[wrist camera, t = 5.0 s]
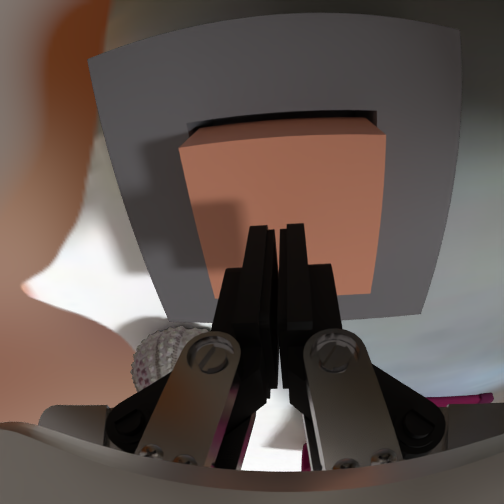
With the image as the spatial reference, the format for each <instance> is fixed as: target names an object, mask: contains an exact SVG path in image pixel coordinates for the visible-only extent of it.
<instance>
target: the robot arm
mask: <svg viewBox="0 0 504 504" xmlns="http://www.w3.org/2000/svg"><path fill="white" fill-rule="evenodd" d="M279 349H280V360H281V372H282V383H283V389H288V388H289V399H290V404H292V405H293V406H294V407H295V408H296V409H298V410H299V411H300V412H301V413H302V418H303V424H304V430H305V436H306V442H307V448H308V454H309V460H310V466H311V471H301V472H267V471H244V470H241V467H242V464H243V460H244V457H245V453H246V450H247V446H248V443H249V439H250V436H251V432H252V428H253V425H254V421H255V417H256V411H257V410H258V409H259V408H261V407H262V406H263V405H264V404H266V400H267V399H270V390H271V389H277V386H278V365H279ZM0 504H504V403H485V404H448V405H447V406H446V407H438V406H437V405H435V404H434V403H433V402H432V401H430V400H428V399H427V398H425V397H424V396H422V395H420V394H419V393H417V392H416V391H414V390H412V389H411V388H409V387H408V386H406V385H404V384H403V383H401V382H400V381H398V380H397V379H395V378H393V377H392V376H390V375H389V374H387V373H386V372H384V371H383V370H381V369H379V368H378V367H376V366H375V365H373V364H372V363H371V360H370V358H369V355H368V352H367V350H366V347H365V345H364V343H363V342H362V340H361V339H360V338H359V337H358V336H357V335H355V334H354V333H352V332H350V331H347V330H344V329H342V323H341V317H340V310H339V304H338V298H337V292H336V287H335V281H334V275H333V270H332V265H331V263H328V264H308V258H307V248H306V238H305V228H304V223H295V224H287V229H280V243H279V271H278V260H277V249H276V238H275V230H274V229H268V225H258V226H250V227H249V232H248V238H247V243H246V249H245V254H244V260H243V266H242V267H238V268H227V269H226V270H225V273H224V277H223V282H222V286H221V290H220V294H219V298H218V302H217V306H216V311H215V315H214V319H213V323H212V328H211V331H210V332H206V333H201V334H199V335H197V336H195V337H193V338H192V339H191V340H190V341H189V342H187V344H186V345H185V346H184V348H183V349H182V351H181V354H180V356H179V358H178V360H177V362H176V364H175V366H174V368H173V371H171V372H170V373H168V374H167V375H165V376H163V377H162V378H160V379H159V380H157V381H155V382H154V383H152V384H150V385H149V386H147V387H146V388H144V389H142V390H141V391H139V392H137V393H136V394H134V395H133V396H131V397H129V398H127V399H126V400H124V401H122V402H121V403H119V404H118V405H117V406H115V407H114V408H109V407H108V406H107V405H55V406H51V407H49V408H47V409H46V410H45V411H44V412H43V414H42V415H41V417H40V420H39V423H38V425H34V424H29V423H23V422H4V423H0Z"/></svg>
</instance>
